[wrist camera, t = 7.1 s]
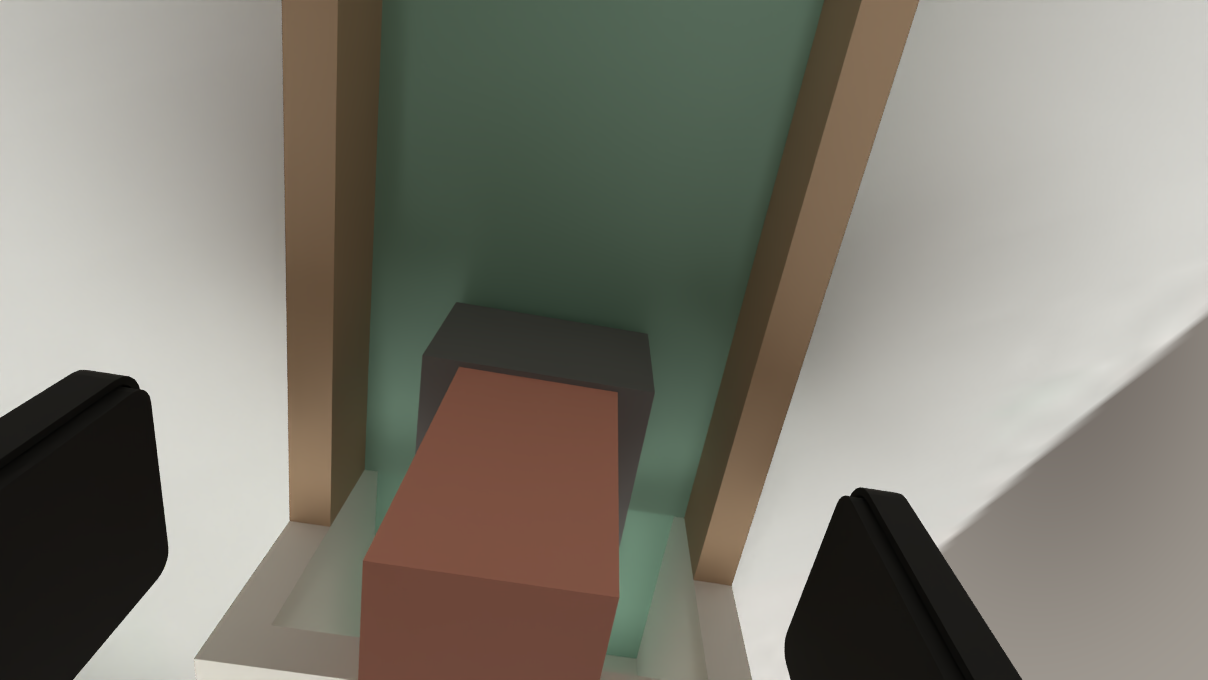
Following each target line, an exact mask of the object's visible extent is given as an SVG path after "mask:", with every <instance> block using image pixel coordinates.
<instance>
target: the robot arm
mask: <svg viewBox="0 0 1208 680" xmlns="http://www.w3.org/2000/svg"><path fill="white" fill-rule="evenodd" d="M167 558H168V540H167V532H166V524H165V515H164V507H163V498H162V490H161V482H160V473H159V465H158V456H157V448H156V440H155V431H154V423H153V414H152V406H151V400H150V396H149V395H148V393H147V392H146V391H144V390H141V389H140V388H139V385H138V383H137V382H136V381H135V379H133V378H131V377H129V376H123V375H116V374H110V373H103V372H96V371H90V370H79V371H76V372H74V373H72V374H70V375H68V376H67V377H65V378H64V379H62V380H60V381H59V382H57V383H56V384H54V385H52V386H51V387H49V388H47V389H46V390H44V391H43V392H41V393H39V394H38V395H36V396H35V397H33V398H31V399H30V400H28V401H26V402H25V403H23V404H22V405H20V406H18V407H17V408H15V409H14V410H12V411H10V412H9V413H7V414H6V415H4V416H2V417H1V418H0V680H73V679H74V678H75V677H76V675H77V674H78V673H79V672H80V671H81V669H82V668H83V667H84V666H85V665H86V664H87V662H88V661H89V660H90V659H91V658H92V656H93V655H94V654H95V653H96V652H97V650H98V649H99V648H100V647H101V646H102V645H103V643H104V642H105V641H106V640H107V639H108V637H109V636H110V635H111V634H112V633H113V631H114V630H115V629H116V628H117V627H118V625H119V624H120V623H121V622H122V621H123V620H124V618H125V617H126V616H127V615H128V614H129V612H130V611H131V610H132V609H133V608H134V606H135V605H136V604H137V603H138V602H139V600H140V599H141V598H142V597H143V596H144V595H145V593H146V592H147V591H148V590H149V589H150V587H151V586H152V585H153V584H154V583H155V581H156V580H157V579H158V578H159V576H160V575H161V573H162V571H163V569H164V567H165V564H166V562H167ZM785 660H786V665H787V668H788V672H789V675H790V679H791V680H1022V678H1021V677H1020V676H1019V674H1018V672H1017V671H1016V669H1015V668H1014V666H1013V665H1012V663H1011V661H1010V660H1009V658H1008V657H1007V655H1006V654H1005V652H1004V650H1003V649H1002V647H1001V646H1000V644H999V643H998V641H997V640H996V638H995V636H994V635H993V633H992V632H991V630H990V629H989V627H988V626H987V624H986V623H985V621H984V619H983V618H982V616H981V615H980V613H979V612H978V610H977V608H976V607H975V605H974V604H973V602H972V601H971V599H970V598H969V596H968V594H967V593H966V591H965V590H964V588H963V587H962V585H961V583H960V582H959V580H958V579H957V577H956V576H955V574H954V573H953V571H952V569H951V568H950V566H949V565H948V563H947V562H946V560H945V559H944V557H943V555H942V554H941V552H940V551H939V549H938V548H937V546H936V545H935V543H934V541H933V540H932V538H931V537H930V535H929V534H928V532H927V531H926V529H925V527H924V526H923V524H922V523H921V521H920V520H919V518H918V517H917V515H916V513H915V512H914V510H913V509H912V507H911V506H910V504H909V503H908V501H907V499H906V498H905V497H904V496H903V495H902V494H899V493H894V492H888V491H881V490H875V489H868V488H861V487H860V488H857V489H855V490H854V491H853V492H852V494H851V496H842V497H841V498H840V499H839V501H838V503H837V505H836V507H835V510H834V513H833V515H832V518H831V520H830V523H829V526H828V528H827V531H826V533H825V536H824V538H823V541H822V544H821V546H820V549H819V551H818V554H817V556H816V559H815V562H814V564H813V567H812V569H811V572H810V574H809V577H808V580H807V582H806V585H805V587H804V590H803V592H802V595H801V598H800V600H799V603H798V605H797V608H796V611H795V613H794V616H793V618H792V621H791V623H790V626H789V629H788V631H787V634H786V638H785Z"/></svg>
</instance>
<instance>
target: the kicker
mask: <svg viewBox="0 0 1208 680" xmlns="http://www.w3.org/2000/svg"><path fill="white" fill-rule="evenodd" d="M654 395H655V389H654V381H653V372H652V364H651V355H650V347H649V338H648V334H646V333H640V332H634V331H628V330H622V329H616V328H610V327H604V326H598V325H592V324H586V323H580V322H574V321H568V320H562V319H556V318H550V317H544V316H538V315H532V314H526V313H520V312H514V311H507V310H501V309H495V308H489V307H483V306H477V305H471V304H465V303H459V302H456V303H455V305H454V306H453V308H452V309H451V311H450V312H449V314H448V316H447V317H446V319H445V320H444V322H443V323H442V325H441V327H440V328H439V330H438V331H437V333H436V334H435V336H434V338H433V339H432V341H431V342H430V344H429V345H428V347H427V349H426V350H425V352H424V353H423V355H422V366H421V380H420V394H419V408H418V421H417V435H416V449H415V456H414V459H413V461H412V463H411V465H410V467H409V469H408V471H407V473H406V475H405V477H404V479H403V481H402V483H401V485H400V487H399V489H398V491H397V493H396V495H395V497H394V499H393V501H392V503H391V505H390V507H389V509H388V511H387V513H386V515H385V517H384V519H383V521H382V523H381V525H380V527H379V529H378V531H377V533H376V535H375V537H374V539H373V541H372V543H371V545H370V547H369V549H368V551H367V553H366V555H365V557H364V559H363V568H362V593H361V619H360V644H359V670H358V680H600V677H601V673H602V669H603V665H604V660H605V656H606V652H607V648H608V643H609V639H610V635H611V631H612V627H613V622H614V618H615V614H616V610H617V606H618V601H619V547H620V543H621V539H622V534H623V530H624V526H625V521H626V517H627V513H628V508H629V504H630V500H631V495H632V491H633V486H634V482H635V478H636V473H637V469H638V465H639V460H640V456H641V451H642V447H643V443H644V438H645V434H646V430H647V425H648V421H649V416H650V412H651V408H652V403H653V399H654Z"/></svg>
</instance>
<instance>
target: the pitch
mask: <svg viewBox="0 0 1208 680" xmlns="http://www.w3.org/2000/svg"><path fill="white" fill-rule="evenodd" d="M918 2H919V0H282V46H283V112H284V178H285V245H286V311H287V377H288V444H289V510H290V521H289V523H288V524H287V526H286V527H285V528H284V530H283V531H282V533H281V534H280V536H279V537H278V538H277V540H276V541H275V543H274V544H273V546H272V547H271V549H270V550H269V551H268V553H267V554H266V556H265V557H264V559H263V560H262V562H261V563H260V564H259V566H258V567H257V569H256V570H255V572H254V573H253V574H252V576H251V577H250V579H249V580H248V582H247V583H246V585H245V586H244V587H243V589H242V590H241V592H240V593H239V595H238V596H237V597H236V599H235V600H234V602H233V603H232V605H231V606H230V608H229V609H228V610H227V612H226V613H225V615H224V616H223V618H222V619H221V621H220V622H219V623H218V625H217V626H216V628H215V629H214V631H213V632H212V633H211V635H210V636H209V638H208V639H207V641H206V642H205V644H204V645H203V646H202V648H201V649H200V651H199V652H198V654H197V655H196V656H195V658H194V666H195V676H196V680H358V670H359V644H360V619H361V593H362V568H363V559H364V557H365V555H366V553H367V551H368V549H369V547H370V545H371V543H372V541H373V539H374V537H375V535H376V533H377V531H378V529H379V527H380V525H381V523H382V521H383V519H384V517H385V515H386V513H387V511H388V509H389V507H390V505H391V503H392V501H393V499H394V497H395V495H396V493H397V491H398V489H399V487H400V485H401V483H402V481H403V479H404V477H405V475H406V473H407V471H408V469H409V467H410V465H411V463H412V461H413V459H414V456H415V449H416V435H417V421H418V408H419V394H420V380H421V366H422V355H423V353H424V352H425V350H426V349H427V347H428V345H429V344H430V342H431V341H432V339H433V338H434V336H435V334H436V333H437V331H438V330H439V328H440V327H441V325H442V323H443V322H444V320H445V319H446V317H447V316H448V314H449V312H450V311H451V309H452V308H453V306H454V305H455V303H456V302H459V303H465V304H471V305H477V306H483V307H489V308H495V309H501V310H507V311H514V312H520V313H526V314H532V315H538V316H544V317H550V318H556V319H562V320H568V321H574V322H580V323H586V324H592V325H598V326H604V327H610V328H616V329H622V330H628V331H634V332H640V333H646V334H648V338H649V347H650V355H651V364H652V372H653V381H654V389H655V395H654V399H653V403H652V408H651V412H650V416H649V421H648V425H647V430H646V434H645V438H644V443H643V447H642V451H641V456H640V460H639V465H638V469H637V473H636V478H635V482H634V486H633V491H632V495H631V500H630V504H629V508H628V513H627V517H626V521H625V526H624V530H623V534H622V539H621V543H620V547H619V601H618V606H617V610H616V614H615V618H614V622H613V627H612V631H611V635H610V639H609V643H608V648H607V652H606V656H605V660H604V665H603V669H602V673H601V677H600V680H752V677H751V673H750V668H749V664H748V659H747V654H746V650H745V645H744V641H743V636H742V632H741V627H740V622H739V618H738V613H737V609H736V604H735V600H734V595H733V590H732V583H733V579H734V576H735V573H736V570H737V567H738V564H739V561H740V558H741V554H742V551H743V548H744V545H745V542H746V539H747V536H748V533H749V529H750V526H751V523H752V520H753V517H754V514H755V511H756V508H757V505H758V501H759V498H760V495H761V492H762V489H763V486H764V483H765V480H766V476H767V473H768V470H769V467H770V464H771V461H772V458H773V455H774V452H775V448H776V445H777V442H778V439H779V436H780V433H781V430H782V427H783V423H784V420H785V417H786V414H787V411H788V408H789V405H790V402H791V399H792V395H793V392H794V389H795V386H796V383H797V380H798V377H799V374H800V370H801V367H802V364H803V361H804V358H805V355H806V352H807V349H808V345H809V342H810V339H811V336H812V333H813V330H814V327H815V324H816V321H817V317H818V314H819V311H820V308H821V305H822V302H823V299H824V296H825V292H826V289H827V286H828V283H829V280H830V277H831V274H832V271H833V268H834V264H835V261H836V258H837V255H838V252H839V249H840V246H841V243H842V239H843V236H844V233H845V230H846V227H847V224H848V221H849V218H850V215H851V211H852V208H853V205H854V202H855V199H856V196H857V193H858V190H859V186H860V183H861V180H862V177H863V174H864V171H865V168H866V165H867V161H868V158H869V155H870V152H871V149H872V146H873V143H874V140H875V137H876V133H877V130H878V127H879V124H880V121H881V118H882V115H883V112H884V108H885V105H886V102H887V99H888V96H889V93H890V90H891V87H892V84H893V80H894V77H895V74H896V71H897V68H898V65H899V62H900V59H901V55H902V52H903V49H904V46H905V43H906V40H907V37H908V34H909V30H910V27H911V24H912V21H913V18H914V15H915V12H916V9H917V6H918Z"/></svg>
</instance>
